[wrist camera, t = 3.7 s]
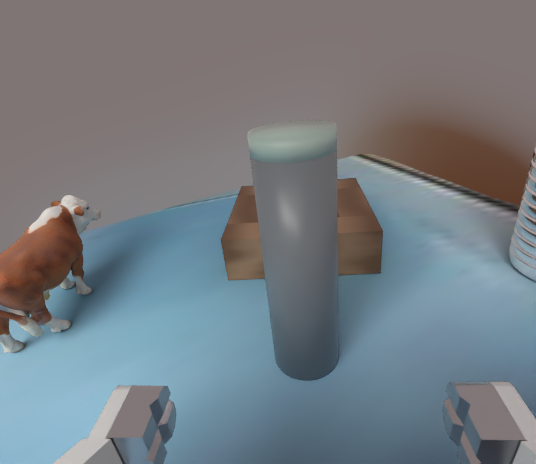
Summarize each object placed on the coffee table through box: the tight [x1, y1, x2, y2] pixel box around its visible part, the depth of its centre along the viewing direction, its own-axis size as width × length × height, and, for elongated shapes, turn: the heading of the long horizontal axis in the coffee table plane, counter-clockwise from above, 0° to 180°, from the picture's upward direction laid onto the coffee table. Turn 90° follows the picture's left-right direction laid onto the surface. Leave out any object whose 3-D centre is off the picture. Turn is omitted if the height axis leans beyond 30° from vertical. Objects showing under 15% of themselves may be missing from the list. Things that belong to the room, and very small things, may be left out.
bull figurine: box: [0, 195, 101, 353], centre depth 27 cm, size 4×13×8 cm, turn 177°
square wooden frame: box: [221, 178, 383, 280], centre depth 34 cm, size 13×13×4 cm
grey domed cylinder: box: [247, 120, 338, 380], centre depth 18 cm, size 4×4×14 cm
